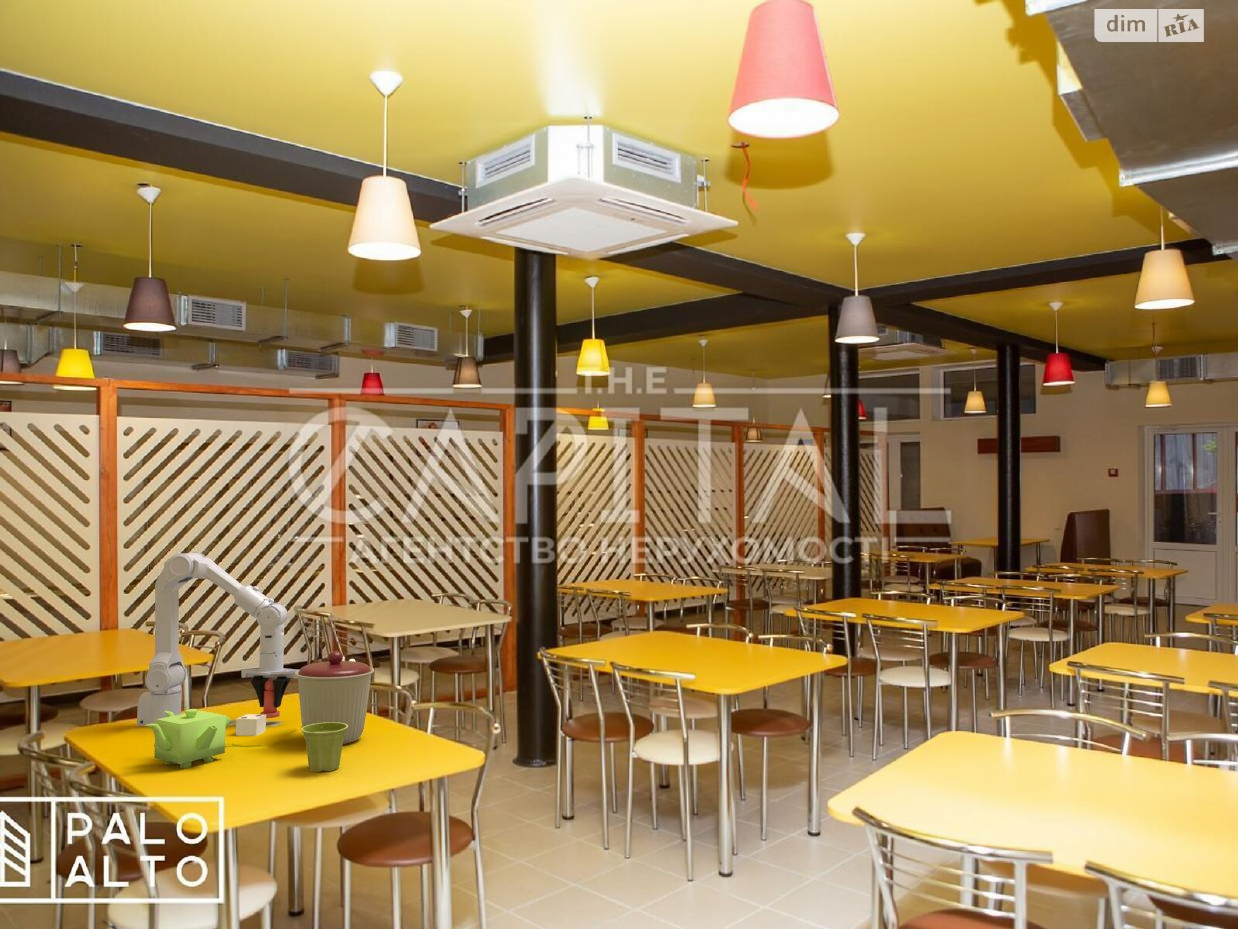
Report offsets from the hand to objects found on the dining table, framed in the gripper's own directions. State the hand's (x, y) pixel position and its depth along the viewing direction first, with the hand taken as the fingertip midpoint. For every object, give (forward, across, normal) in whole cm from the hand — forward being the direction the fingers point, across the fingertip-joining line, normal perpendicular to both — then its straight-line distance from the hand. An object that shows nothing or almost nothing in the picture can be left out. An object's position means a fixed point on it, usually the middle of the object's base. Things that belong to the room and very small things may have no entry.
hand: (270, 706), depth 228 cm
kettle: (+5, -4, -32) cm, 33 cm away
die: (+5, 0, -10) cm, 11 cm away
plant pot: (+6, +28, -34) cm, 45 cm away
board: (+5, -8, 0) cm, 10 cm away
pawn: (+2, 0, 0) cm, 2 cm away
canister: (+6, +21, -12) cm, 25 cm away
